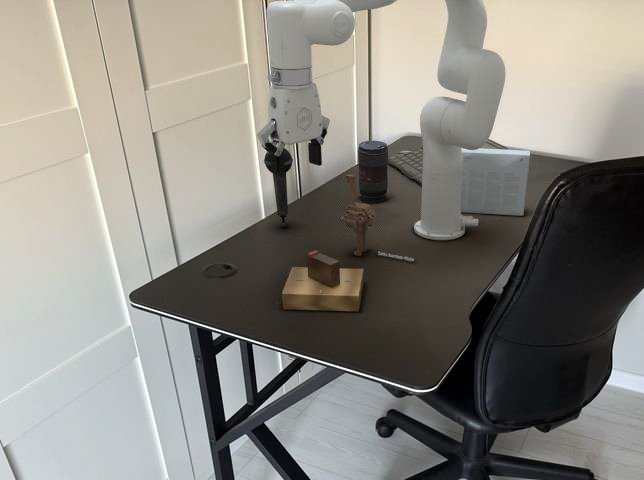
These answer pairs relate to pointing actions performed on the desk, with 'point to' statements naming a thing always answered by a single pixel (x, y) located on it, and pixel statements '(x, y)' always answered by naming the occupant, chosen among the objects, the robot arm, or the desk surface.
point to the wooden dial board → (323, 291)
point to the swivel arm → (323, 269)
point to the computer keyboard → (414, 160)
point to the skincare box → (494, 181)
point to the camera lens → (373, 170)
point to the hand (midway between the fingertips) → (297, 169)
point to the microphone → (281, 184)
